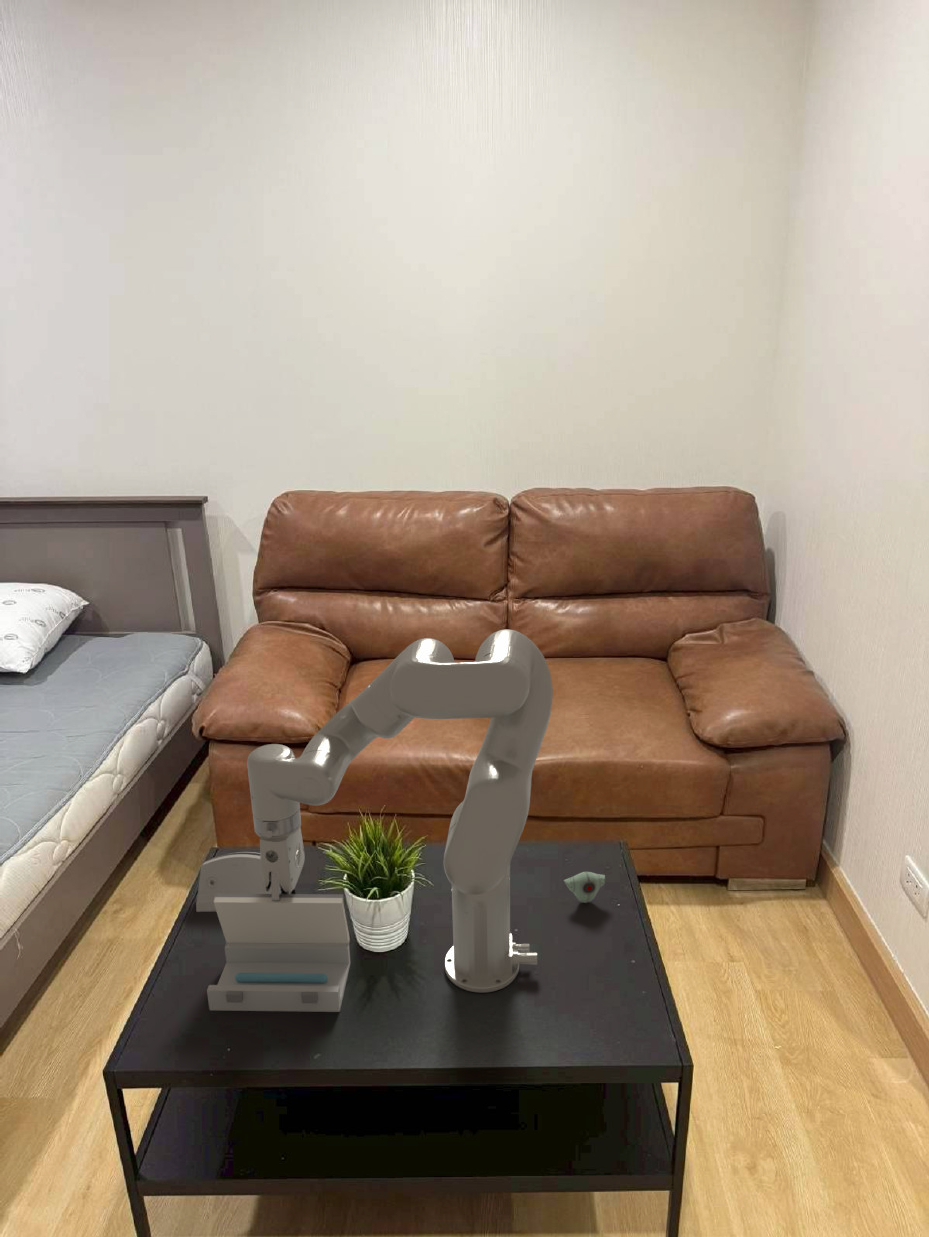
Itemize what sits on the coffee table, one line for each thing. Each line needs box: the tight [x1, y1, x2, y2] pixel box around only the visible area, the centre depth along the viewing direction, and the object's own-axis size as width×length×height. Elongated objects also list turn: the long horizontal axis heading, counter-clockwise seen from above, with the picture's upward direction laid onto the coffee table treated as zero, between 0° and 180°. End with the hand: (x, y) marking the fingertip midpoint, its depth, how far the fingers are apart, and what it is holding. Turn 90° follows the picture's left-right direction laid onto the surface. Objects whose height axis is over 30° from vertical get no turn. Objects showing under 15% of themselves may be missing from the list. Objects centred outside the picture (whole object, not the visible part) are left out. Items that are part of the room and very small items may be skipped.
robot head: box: [563, 871, 606, 904], centre depth 166 cm, size 8×4×7 cm, turn 100°
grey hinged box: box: [206, 942, 351, 1013], centre depth 147 cm, size 21×12×4 cm, turn 88°
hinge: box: [195, 851, 272, 913], centre depth 169 cm, size 17×5×10 cm, turn 90°
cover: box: [214, 893, 350, 945], centre depth 149 cm, size 21×11×2 cm
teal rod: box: [235, 973, 328, 983], centre depth 148 cm, size 15×1×1 cm, turn 88°
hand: (286, 911), depth 152 cm, fingers closed
